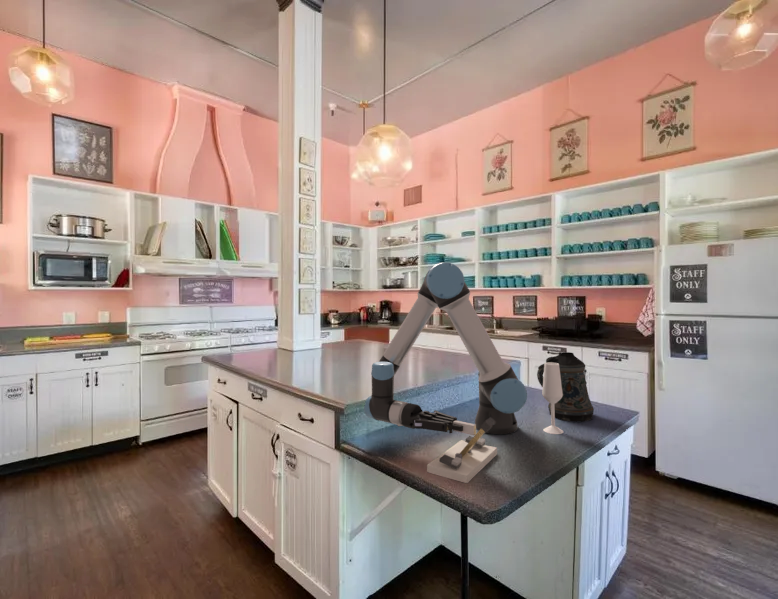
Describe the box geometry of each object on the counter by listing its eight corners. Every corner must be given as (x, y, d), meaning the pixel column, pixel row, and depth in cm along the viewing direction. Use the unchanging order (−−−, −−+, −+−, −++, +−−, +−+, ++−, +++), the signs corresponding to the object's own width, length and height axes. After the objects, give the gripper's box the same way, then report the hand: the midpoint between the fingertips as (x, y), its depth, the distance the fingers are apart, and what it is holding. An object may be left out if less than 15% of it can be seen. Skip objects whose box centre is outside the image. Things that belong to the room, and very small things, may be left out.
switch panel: (461, 446, 126) (460, 435, 126) (497, 454, 119) (496, 442, 119) (427, 472, 108) (426, 459, 108) (467, 483, 101) (466, 469, 101)
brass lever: (463, 449, 116) (490, 416, 110) (468, 454, 115) (496, 422, 109) (456, 454, 112) (484, 421, 107) (461, 459, 111) (490, 426, 106)
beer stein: (603, 419, 148) (602, 354, 148) (560, 425, 143) (558, 357, 143) (573, 407, 164) (572, 349, 164) (533, 412, 159) (531, 351, 159)
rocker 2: (469, 438, 123) (470, 433, 123) (484, 445, 120) (485, 439, 120) (465, 441, 120) (466, 436, 120) (480, 448, 117) (481, 442, 117)
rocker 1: (444, 457, 109) (445, 451, 109) (461, 465, 106) (462, 459, 106) (439, 461, 107) (440, 455, 106) (456, 469, 104) (457, 463, 103)
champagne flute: (551, 435, 133) (549, 365, 133) (539, 428, 140) (537, 362, 140) (567, 432, 135) (566, 364, 135) (554, 426, 142) (553, 361, 141)
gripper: (417, 421, 130) (483, 436, 116) (394, 431, 119) (465, 450, 105) (417, 398, 130) (484, 411, 116) (394, 407, 119) (465, 422, 105)
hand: (474, 429), depth 110 cm, fingers closed
